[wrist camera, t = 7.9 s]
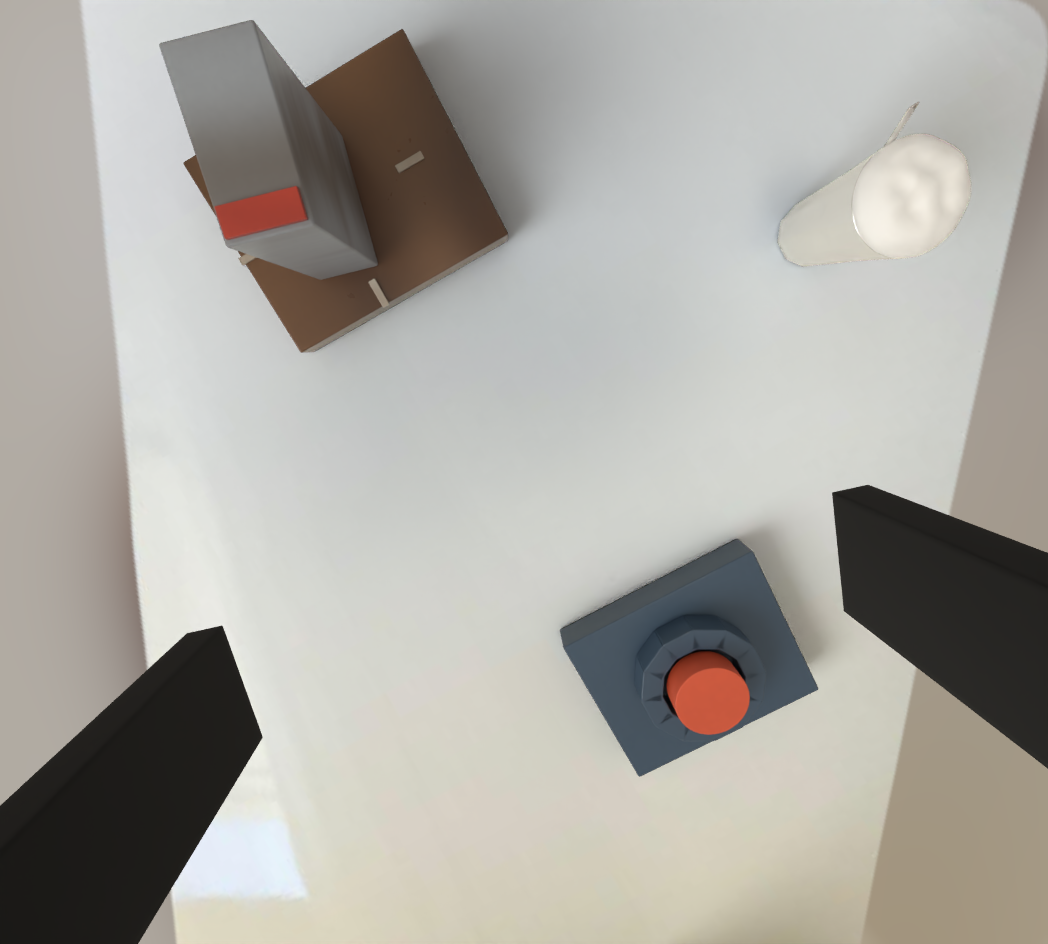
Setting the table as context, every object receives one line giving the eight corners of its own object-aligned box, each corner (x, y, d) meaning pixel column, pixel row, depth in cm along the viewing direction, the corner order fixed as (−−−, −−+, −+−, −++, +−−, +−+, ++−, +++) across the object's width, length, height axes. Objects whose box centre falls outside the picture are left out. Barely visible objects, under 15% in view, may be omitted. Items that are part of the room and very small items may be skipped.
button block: (737, 538, 34) (767, 562, 31) (800, 669, 37) (836, 708, 33) (559, 629, 35) (566, 664, 31) (631, 752, 37) (646, 800, 34)
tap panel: (408, 47, 28) (400, 23, 26) (509, 243, 30) (509, 235, 28) (200, 173, 29) (177, 160, 27) (312, 355, 31) (298, 355, 29)
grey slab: (280, 150, 27) (152, 38, 17) (342, 134, 27) (249, 13, 17) (319, 280, 29) (222, 246, 19) (378, 265, 28) (312, 224, 18)
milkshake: (820, 156, 30) (973, 66, 20) (862, 249, 31) (1027, 206, 21) (742, 205, 30) (857, 140, 21) (787, 295, 32) (915, 274, 22)
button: (719, 638, 32) (731, 655, 30) (748, 694, 33) (761, 714, 31) (654, 671, 32) (663, 689, 30) (684, 726, 33) (694, 747, 31)
